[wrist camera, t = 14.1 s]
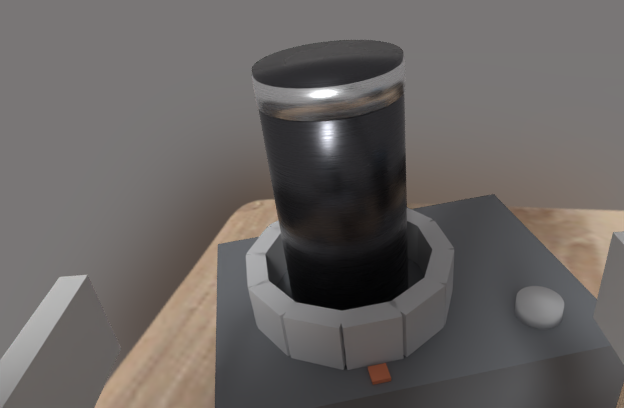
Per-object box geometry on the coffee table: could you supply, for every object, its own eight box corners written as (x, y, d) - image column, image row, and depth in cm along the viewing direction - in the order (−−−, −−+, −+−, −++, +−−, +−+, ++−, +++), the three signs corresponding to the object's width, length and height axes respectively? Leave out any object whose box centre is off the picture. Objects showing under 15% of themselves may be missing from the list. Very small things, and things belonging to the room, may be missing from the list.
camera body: (487, 266, 35) (496, 159, 31) (609, 427, 24) (650, 295, 20) (236, 315, 34) (208, 210, 30) (242, 509, 23) (200, 386, 18)
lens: (389, 246, 29) (380, 32, 22) (426, 319, 23) (427, 65, 17) (285, 266, 28) (247, 53, 22) (299, 345, 23) (254, 93, 17)
